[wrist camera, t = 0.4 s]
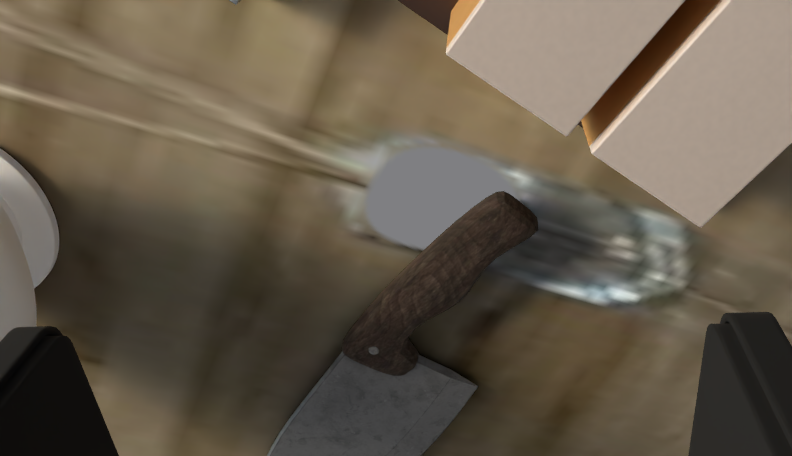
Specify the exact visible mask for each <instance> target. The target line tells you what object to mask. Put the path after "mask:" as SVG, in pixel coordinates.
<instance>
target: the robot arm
mask: <svg viewBox="0 0 792 456" xmlns="http://www.w3.org/2000/svg"><path fill="white" fill-rule="evenodd" d="M0 456H119V455H118V453H117V450H116V448H115V445H114V443H113V441H112V438H111V436H110V433H109V431H108V428H107V426H106V424H105V421H104V419H103V416H102V414H101V411H100V409H99V407H98V404H97V402H96V399H95V397H94V394H93V392H92V389H91V387H90V385H89V382H88V380H87V377H86V375H85V372H84V370H83V368H82V365H81V363H80V360H79V358H78V355H77V353H76V351H75V348H74V346H73V343H72V342H71V340H70V339H69V338H68V337H67V336H63V335H62V333H61V332H60V331H59V330H58V329H57V328H56V327H51V326H44V327H17V328H14V329H12V330H11V331H10V332H8V333H7V334H6V336H5V337H4V338H3V339H2V340H1V341H0ZM689 456H792V346H791V344H790V342H789V341H788V339H787V337H786V336H785V334H784V332H783V330H782V329H781V327H780V325H779V323H778V322H777V320H776V318H775V317H774V316H773V314H771V313H769V312H750V313H725V314H724V315H723V316H722V318H721V322H720V324H710V325H709V326H708V328H707V331H706V337H705V344H704V351H703V358H702V365H701V372H700V379H699V386H698V393H697V400H696V407H695V414H694V421H693V428H692V435H691V442H690V449H689Z"/></svg>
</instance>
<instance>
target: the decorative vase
mask: <svg viewBox="0 0 792 456" xmlns="http://www.w3.org/2000/svg"><path fill="white" fill-rule="evenodd" d="M58 251H59V231H58V225H57V221H56V218H55V215H54V212H53V209H52V207H51V205H50V203H49V201H48V199H47V197H46V196H45V194H44V192H43V191H42V189H41V188H40V186H39V185H38V184H37V182H36V181H35V180H34V178H33V177H32V176H31V175H30V174H29V173H28V172H27V171H26V170H25V169H24V168H23V167H22V166H21V165H20V164H19V163H18V162H17V161H16V160H15V159H14V158H12V157H11V156H10V155H9V154H7V153H6V152H5V151H3V150H2V149H0V341H1V340H2V339H3V338H4V337H5V336H6V334H7V333H8V332H10V331H11V330H12V329H14V328H17V327H36V320H37V313H36V300H35V292H34V288H36V287H37V286H38V285H39V284H40V283H41V282H42V281H43V280H44V279H45V278H46V277H47V275H48V274H49V273H50V271H51V270H52V268H53V266H54V264H55V262H56V259H57V256H58Z"/></svg>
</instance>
